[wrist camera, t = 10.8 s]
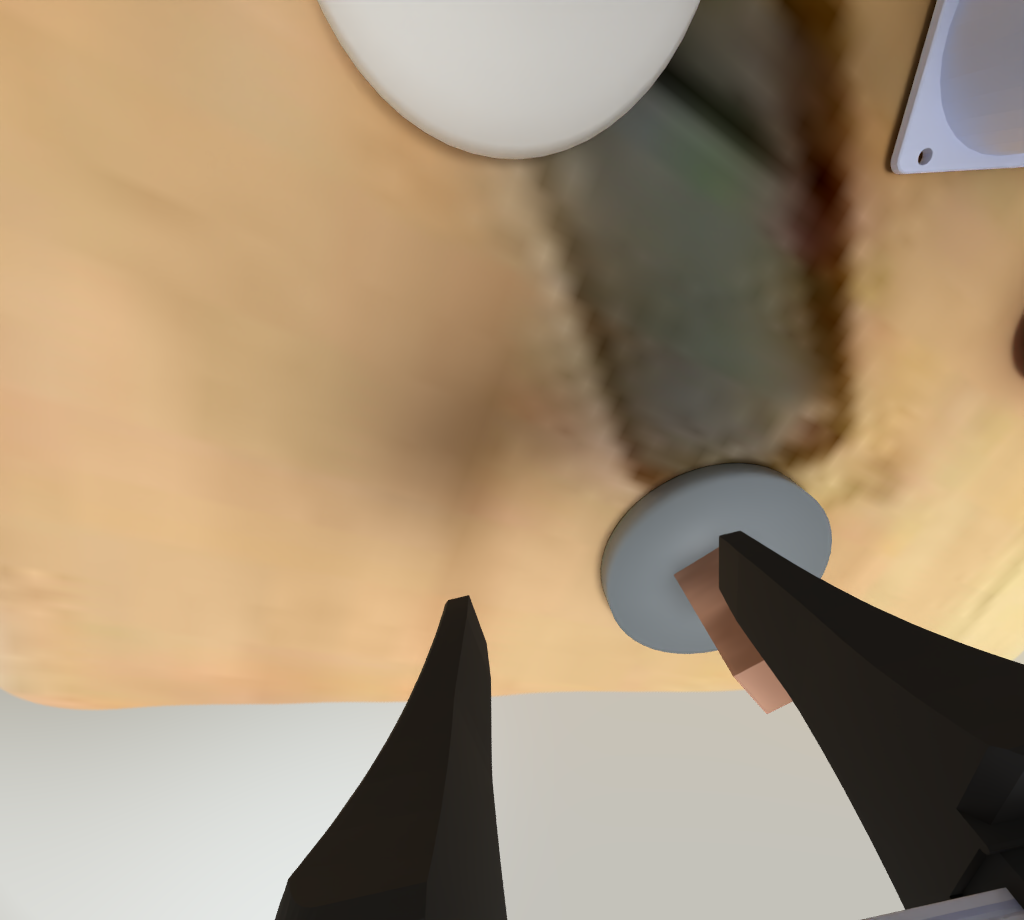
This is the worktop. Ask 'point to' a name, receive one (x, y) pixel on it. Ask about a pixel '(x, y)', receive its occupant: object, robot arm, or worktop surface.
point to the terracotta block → (729, 633)
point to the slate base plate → (702, 545)
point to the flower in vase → (510, 65)
